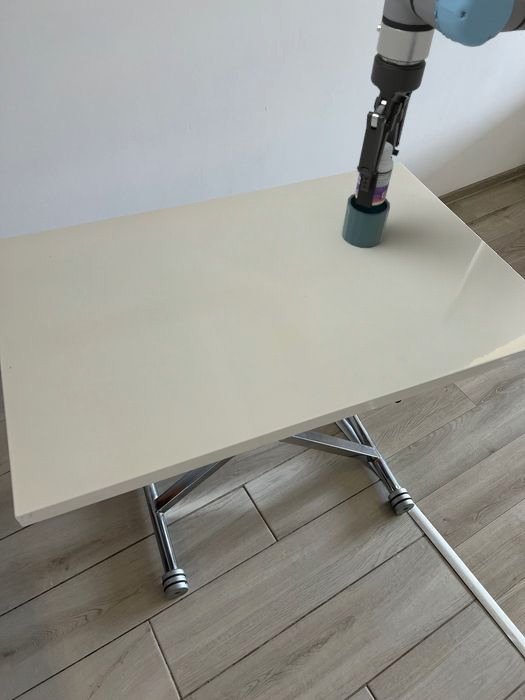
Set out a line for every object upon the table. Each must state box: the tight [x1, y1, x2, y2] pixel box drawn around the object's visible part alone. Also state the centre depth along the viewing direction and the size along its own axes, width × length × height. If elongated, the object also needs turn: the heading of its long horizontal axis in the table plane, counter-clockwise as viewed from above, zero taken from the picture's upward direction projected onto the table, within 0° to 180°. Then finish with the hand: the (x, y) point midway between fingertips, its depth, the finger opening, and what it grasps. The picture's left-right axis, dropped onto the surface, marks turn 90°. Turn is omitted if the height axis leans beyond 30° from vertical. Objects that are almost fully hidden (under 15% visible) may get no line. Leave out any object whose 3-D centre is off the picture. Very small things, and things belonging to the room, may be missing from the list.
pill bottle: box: [354, 142, 394, 205], centre depth 91 cm, size 5×5×10 cm
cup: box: [341, 193, 391, 249], centre depth 98 cm, size 8×8×7 cm
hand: (370, 196), depth 94 cm, fingers closed on pill bottle, 5 cm apart
